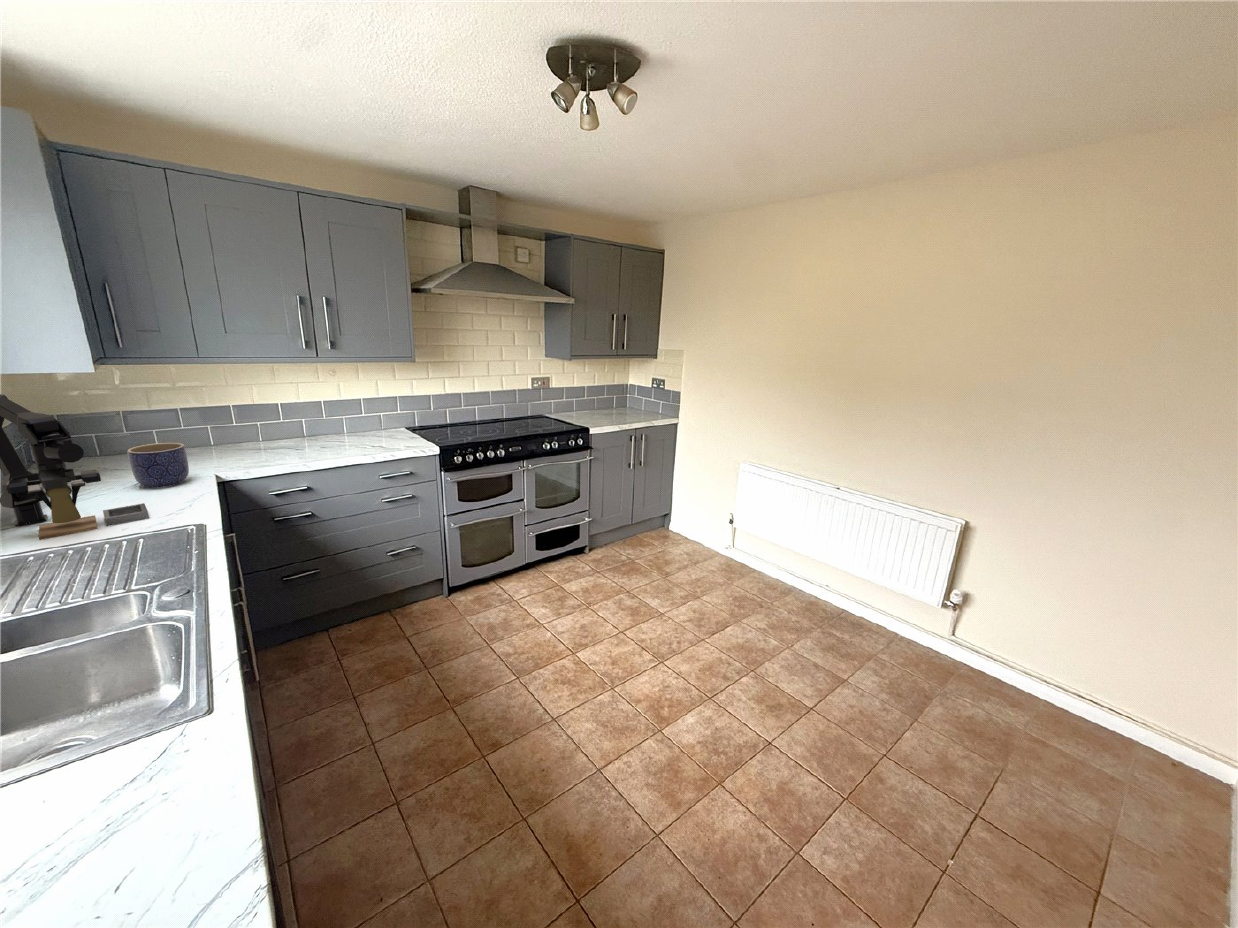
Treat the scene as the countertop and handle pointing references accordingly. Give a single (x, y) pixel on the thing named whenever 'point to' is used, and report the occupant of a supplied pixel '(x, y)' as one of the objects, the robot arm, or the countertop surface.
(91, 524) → the walnut board
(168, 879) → the countertop surface
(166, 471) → the planter
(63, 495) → the cork
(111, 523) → the steel collar
